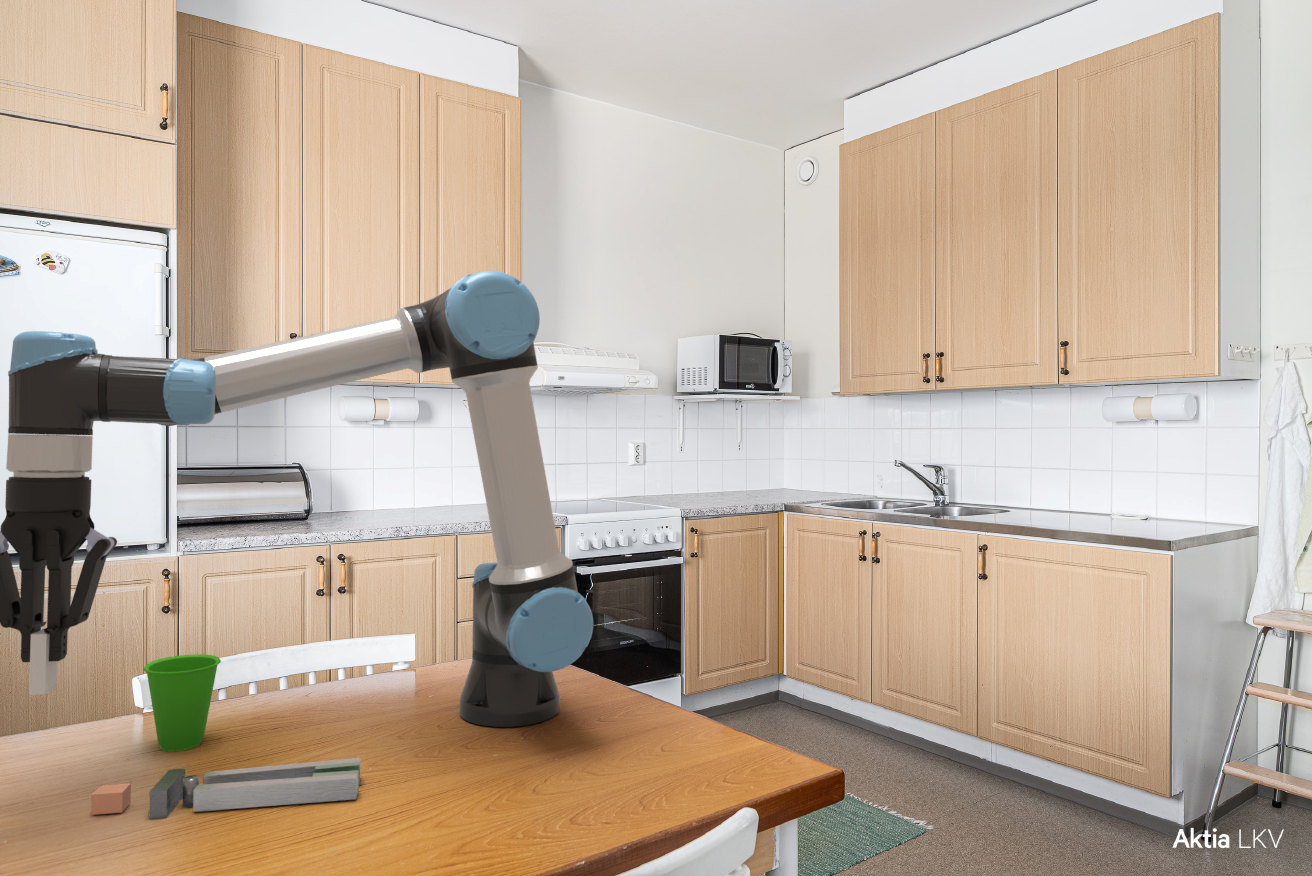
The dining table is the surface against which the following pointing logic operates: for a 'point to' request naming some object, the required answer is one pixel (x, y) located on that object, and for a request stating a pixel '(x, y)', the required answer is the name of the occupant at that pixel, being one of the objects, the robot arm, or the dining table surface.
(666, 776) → the dining table surface
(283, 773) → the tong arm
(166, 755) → the dining table surface
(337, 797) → the tongs base
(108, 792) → the tab
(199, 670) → the cup
